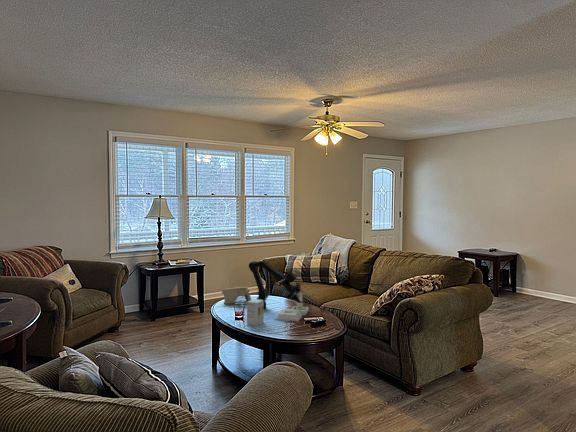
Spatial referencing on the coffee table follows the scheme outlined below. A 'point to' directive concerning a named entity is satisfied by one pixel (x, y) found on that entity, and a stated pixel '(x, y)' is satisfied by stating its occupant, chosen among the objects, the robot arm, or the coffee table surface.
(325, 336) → the coffee table surface
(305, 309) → the parts tray
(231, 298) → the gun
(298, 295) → the cream rounded cylinder
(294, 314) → the grey block with recess
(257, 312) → the supplement box
